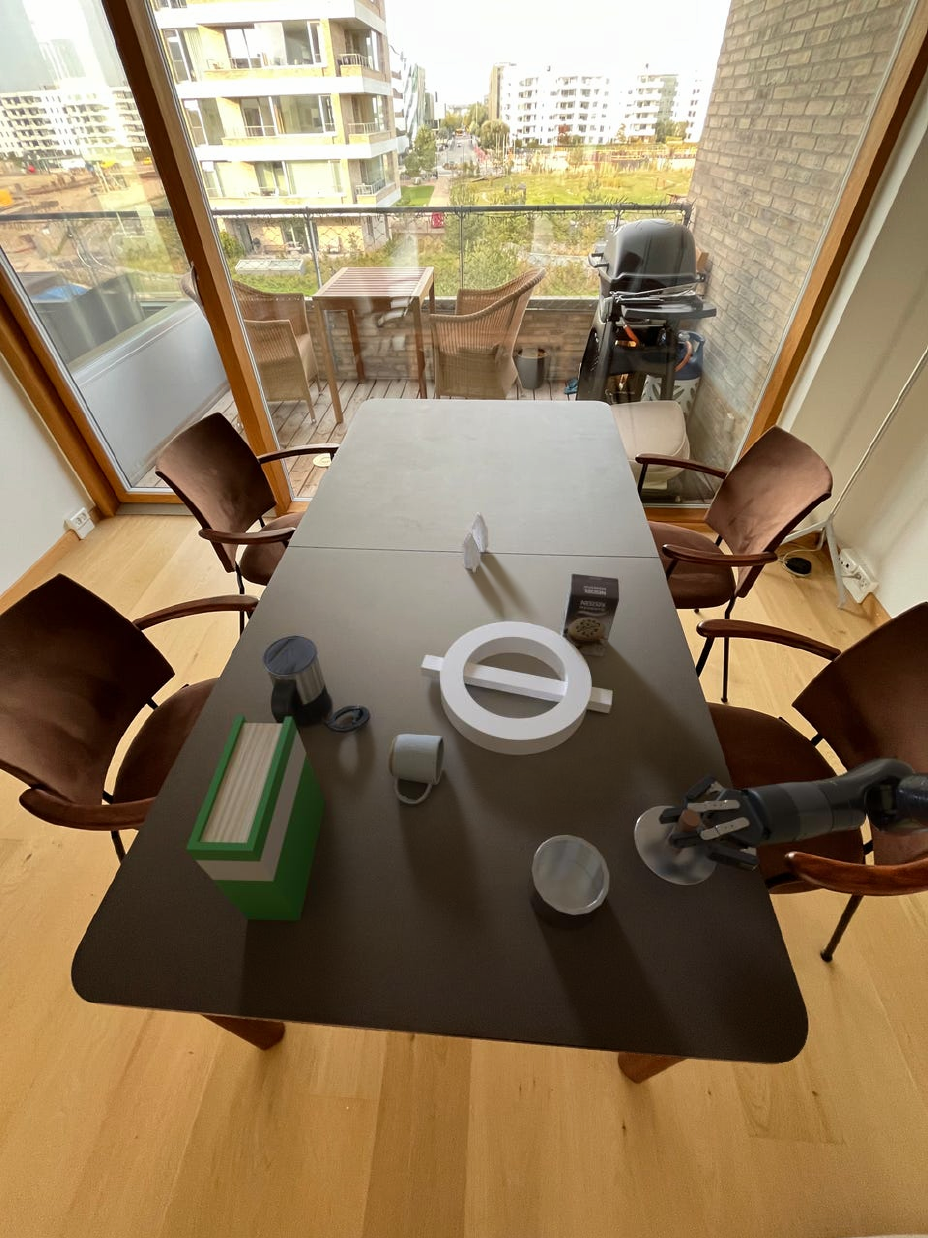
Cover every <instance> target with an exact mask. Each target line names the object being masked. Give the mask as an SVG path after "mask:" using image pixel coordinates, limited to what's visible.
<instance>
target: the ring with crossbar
mask: <svg viewBox="0 0 928 1238" xmlns="http://www.w3.org/2000/svg"><path fill="white" fill-rule="evenodd" d="M509 653H510V654H521V655H526V656H530V657H533V658H536V659H537V660H539V661H541V662H543V663H545V664H546V665H548V666H549V667H550V668H551V669H552V670H553V671H554V672H555V673H556V675H557V676H558V678H559V679H560V680H559V679H555V678H551V677H550V678H549V677H545V676H544V677H543V676H540V675H534V674H528V673H523V672H518V671H513V670H508V669H503V668H498V667H493V666H487V665H482V664H479V663H480V662H481V661H483V660H485V659H486V658H489V657H492V656H495V655H499V654H509ZM588 665H589V664H588V663H587V661H586V658H584V656H583V654H581V653H580V652H579V651H578V650H577V648H576V647H575V646H574V645H573V644H571V643H570V642H569V641H568V640H567V639H565V638H564V637H562V636H561V635H560V633H558V632H556V631H553V630H551V629H549V628H547V627H545V626H542V625H539V624H535V623H529V622H524V621H508V620H507V621H498V622H492V623H488V624H484V625H482V626H478V627H475V628H473V629H472V630H469V631H468V632H466V633H465V634H463V635H462V636H460V637H459V638H458V639H457V640H455V642H453V644H451V646H450V647H449V649H448V650H447V651H446V653H445V655H444V657H442V656H436V655H431V654H425V656H424V658H423V661H422V664H421V666H420V672H421V673H420V674H421V676H424V677H429V678H435V679H439V687H440V699H441V706H442V708H443V711H444V713H445V715H446V717H447V719H448V721H449V722H450V724H451V725H452V726H453V727H454V728H455V730H456V731H457V732H458V733H459V734H461V736H463V737H464V738H465V739H467V740H468V741H469V742H471V743H473V744H475V745H476V746H478V747H481V748H483V749H484V750H488V751H492V752H495V753H499V754H504V755H513V756H526V755H532V754H533V755H534V754H539V753H542V752H546V751H549V750H551V749H554V748H556V747H558V746H559V745H561V744H563V743H564V742H566V741H567V740H568V739H570V738H571V737H572V736H573V735H574V734H575V732H576V731H577V730H578V729H579V727H580V726H581V724H582V722H583V721H584V718H585V716H586V713H587V710H591V711H595V712H600V713H606V714H610V712H611V708H612V704H613V703H612V702H613V690H611V689H606V688H600V687H595V686H592V676H591V675H592V674H591V672H590V668H589V666H588ZM465 684H467V685H472V686H476V687H482V688H486V689H492V690H497V691H501V692H506V693H511V694H515V695H520V696H526V697H531V698H534V699H535V698H536V699H541V700H546V701H551V702H556V703H557V704H555V706H554V707H553V708H551V709H549V710H548V711H546V712H544V713H541V714H539V715H536V716H532V717H525V718H516V717H515V718H512V717H506V716H502V715H498V714H495V713H493V712H492V711H489V710H487V709H485V708H483V707H482V706H480V705H479V704H478V703H477V702H476V701H475V700H474V699H473V698H472V697H471V694H470V693H469V692H468V690H467V688H466V685H465Z"/></svg>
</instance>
